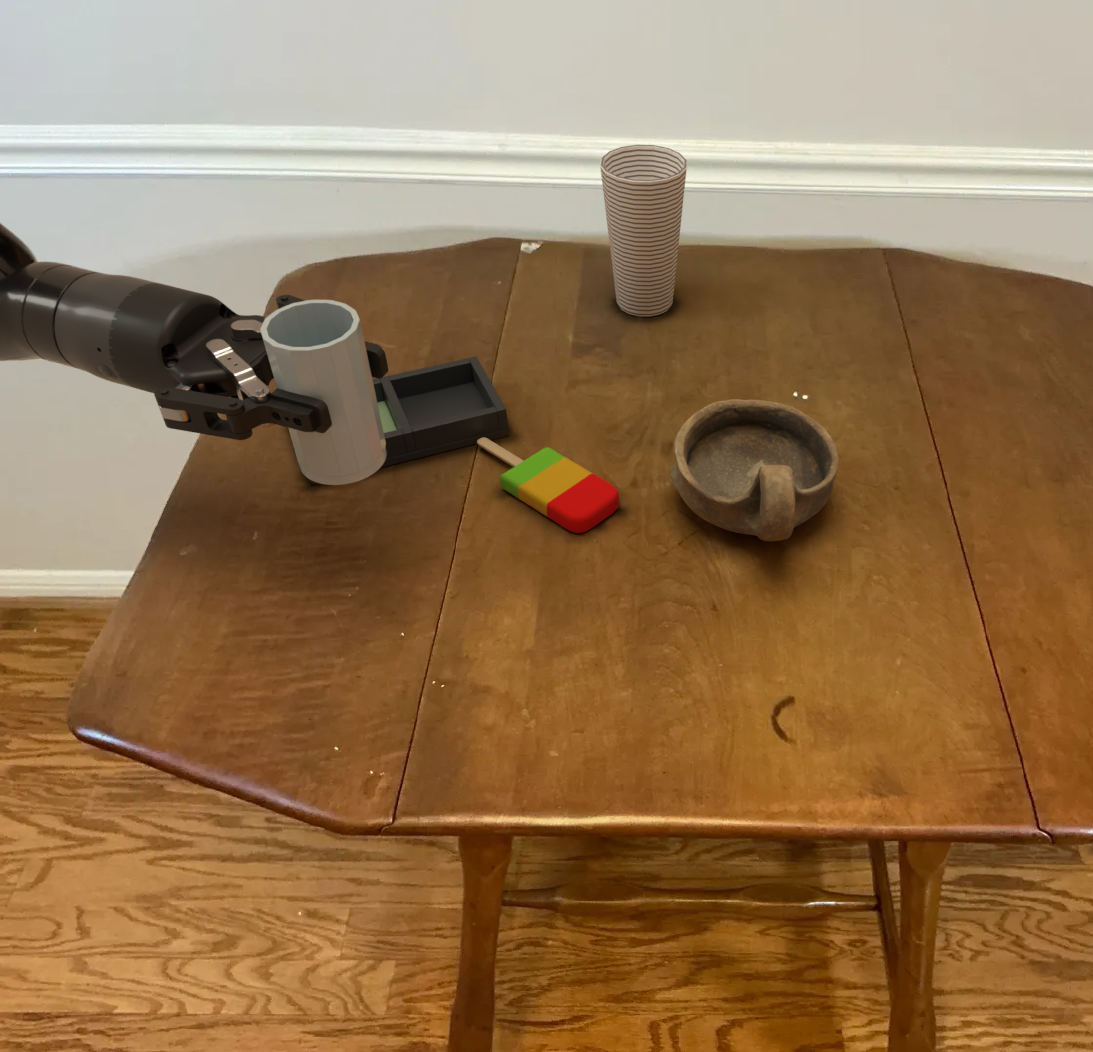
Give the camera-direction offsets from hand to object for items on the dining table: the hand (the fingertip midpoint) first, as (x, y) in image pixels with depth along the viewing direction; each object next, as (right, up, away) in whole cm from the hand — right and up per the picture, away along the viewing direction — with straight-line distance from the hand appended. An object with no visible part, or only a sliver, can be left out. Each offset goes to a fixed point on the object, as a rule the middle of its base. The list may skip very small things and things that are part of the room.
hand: (355, 389), depth 71 cm
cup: (+17, +15, +44) cm, 49 cm away
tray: (-4, 0, +26) cm, 26 cm away
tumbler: (-2, -4, +5) cm, 7 cm away
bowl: (+27, -8, +19) cm, 34 cm away
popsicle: (+9, -6, +21) cm, 24 cm away
